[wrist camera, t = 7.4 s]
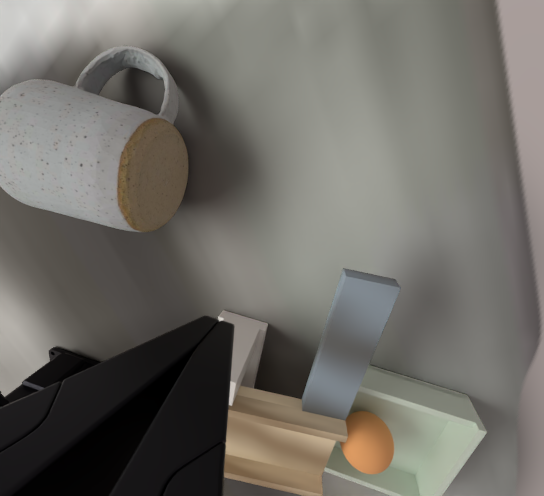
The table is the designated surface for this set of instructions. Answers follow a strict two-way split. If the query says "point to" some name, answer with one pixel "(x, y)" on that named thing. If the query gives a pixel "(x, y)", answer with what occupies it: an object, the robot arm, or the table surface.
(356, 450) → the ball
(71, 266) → the table surface
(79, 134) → the ceramic mug
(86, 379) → the robot arm
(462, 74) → the table surface
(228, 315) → the stand
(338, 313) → the lever
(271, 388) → the table surface
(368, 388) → the tray
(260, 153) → the table surface
